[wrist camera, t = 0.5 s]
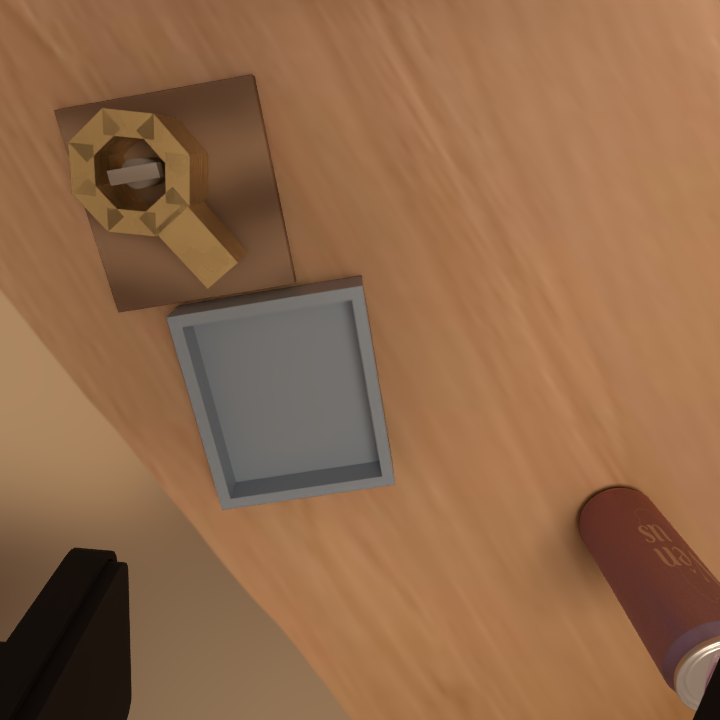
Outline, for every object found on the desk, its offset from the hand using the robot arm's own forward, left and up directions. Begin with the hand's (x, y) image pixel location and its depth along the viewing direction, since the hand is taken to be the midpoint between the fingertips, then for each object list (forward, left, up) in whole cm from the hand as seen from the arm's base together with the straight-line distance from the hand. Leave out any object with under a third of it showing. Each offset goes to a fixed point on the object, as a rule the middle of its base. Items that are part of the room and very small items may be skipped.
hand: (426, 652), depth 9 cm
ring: (-6, -11, -31) cm, 33 cm away
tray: (+8, -7, -32) cm, 34 cm away
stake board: (-6, -11, -32) cm, 34 cm away
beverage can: (+23, +16, -32) cm, 43 cm away
